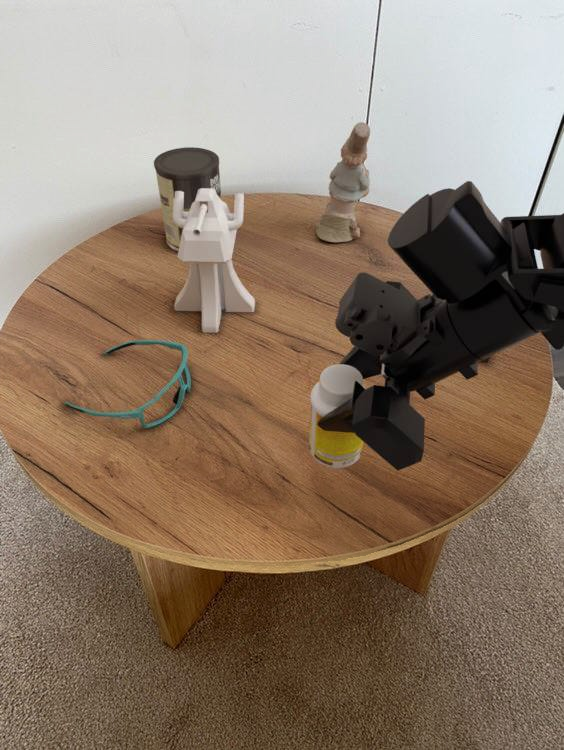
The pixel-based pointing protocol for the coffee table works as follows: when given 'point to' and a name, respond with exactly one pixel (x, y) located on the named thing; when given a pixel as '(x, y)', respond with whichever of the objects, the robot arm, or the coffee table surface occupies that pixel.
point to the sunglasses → (177, 397)
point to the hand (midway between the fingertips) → (325, 403)
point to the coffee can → (184, 182)
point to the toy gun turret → (210, 257)
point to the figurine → (346, 189)
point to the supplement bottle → (324, 399)
